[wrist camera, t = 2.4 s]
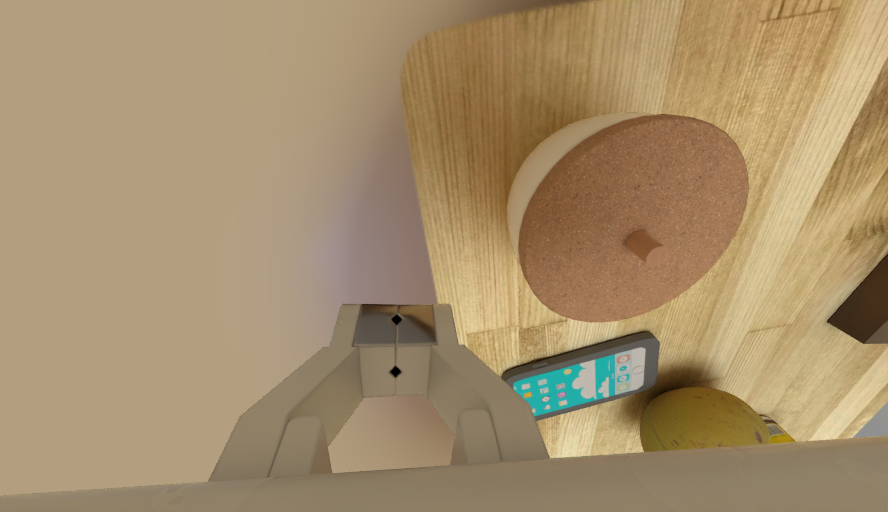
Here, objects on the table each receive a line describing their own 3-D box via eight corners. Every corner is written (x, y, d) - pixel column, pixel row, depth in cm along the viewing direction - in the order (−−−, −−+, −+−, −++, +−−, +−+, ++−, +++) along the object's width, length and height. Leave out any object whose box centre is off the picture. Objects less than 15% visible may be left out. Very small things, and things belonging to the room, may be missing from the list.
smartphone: (656, 391, 33) (517, 428, 34) (650, 383, 34) (514, 419, 35) (661, 334, 29) (501, 379, 30) (654, 327, 30) (499, 370, 30)
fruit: (623, 437, 39) (683, 539, 31) (614, 382, 33) (685, 489, 25) (713, 409, 38) (802, 507, 30) (721, 347, 32) (835, 447, 24)
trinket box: (658, 86, 19) (842, 99, 11) (628, 242, 25) (736, 326, 16) (482, 114, 19) (537, 149, 11) (492, 265, 24) (534, 362, 16)
